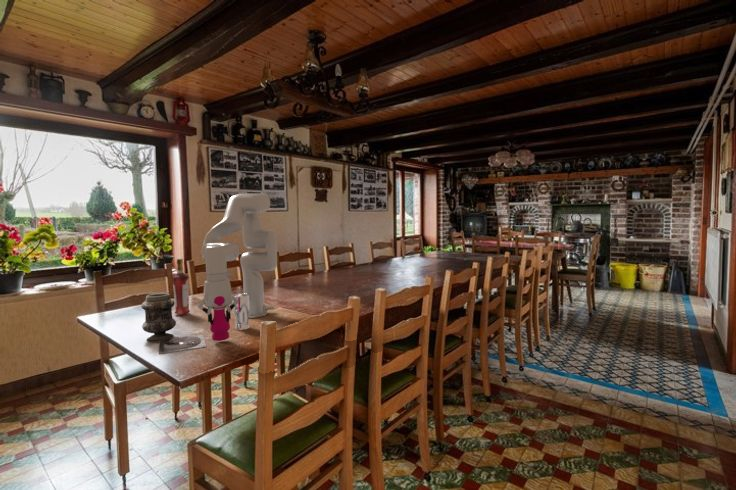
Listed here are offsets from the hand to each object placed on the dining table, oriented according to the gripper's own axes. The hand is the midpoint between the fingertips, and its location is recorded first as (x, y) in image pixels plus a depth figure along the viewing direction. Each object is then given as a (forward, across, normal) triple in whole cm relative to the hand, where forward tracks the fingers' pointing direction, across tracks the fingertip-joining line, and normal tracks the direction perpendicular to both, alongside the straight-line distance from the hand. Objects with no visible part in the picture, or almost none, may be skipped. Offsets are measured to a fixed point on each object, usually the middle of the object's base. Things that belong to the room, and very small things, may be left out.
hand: (219, 321), depth 152 cm
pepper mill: (+7, 0, 0) cm, 7 cm away
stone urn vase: (+8, +22, -16) cm, 28 cm away
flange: (+8, +14, -5) cm, 17 cm away
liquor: (+10, +12, -53) cm, 55 cm away
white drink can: (+9, -10, -15) cm, 20 cm away
